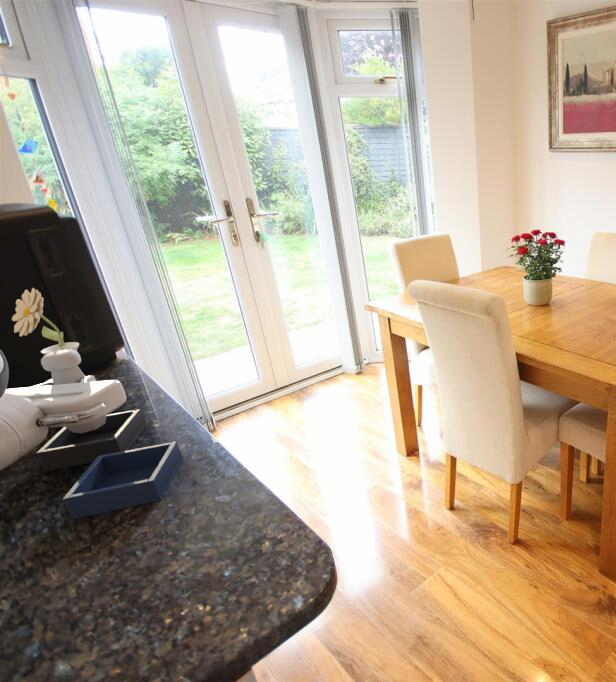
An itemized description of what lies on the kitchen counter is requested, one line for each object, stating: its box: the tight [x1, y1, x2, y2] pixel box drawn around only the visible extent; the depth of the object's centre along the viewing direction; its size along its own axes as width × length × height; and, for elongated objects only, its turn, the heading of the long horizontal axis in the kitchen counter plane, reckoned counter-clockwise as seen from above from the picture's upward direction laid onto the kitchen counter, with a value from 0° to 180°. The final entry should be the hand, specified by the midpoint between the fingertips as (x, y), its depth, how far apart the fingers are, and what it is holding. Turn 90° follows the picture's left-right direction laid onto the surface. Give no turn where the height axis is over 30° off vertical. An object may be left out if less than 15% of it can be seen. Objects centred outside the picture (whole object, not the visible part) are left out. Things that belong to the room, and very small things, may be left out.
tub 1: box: [35, 408, 147, 472], centre depth 75 cm, size 10×10×3 cm
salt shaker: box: [40, 349, 107, 433], centre depth 72 cm, size 6×6×13 cm
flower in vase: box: [11, 287, 123, 415], centre depth 80 cm, size 13×11×25 cm
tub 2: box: [61, 441, 184, 520], centre depth 65 cm, size 10×10×3 cm
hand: (75, 381), depth 72 cm, fingers closed on salt shaker, 3 cm apart
